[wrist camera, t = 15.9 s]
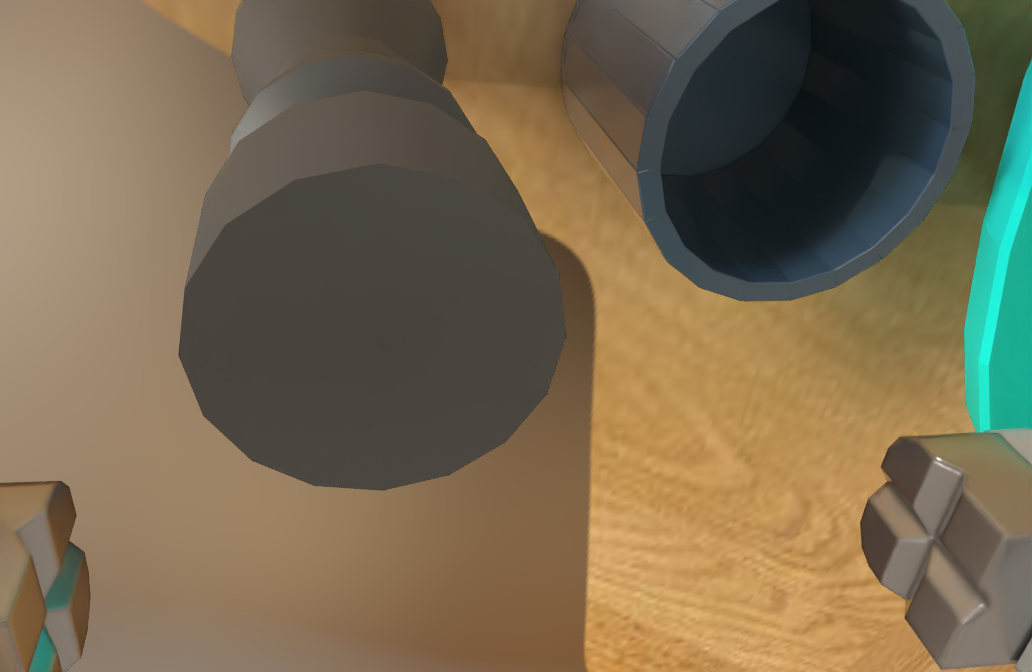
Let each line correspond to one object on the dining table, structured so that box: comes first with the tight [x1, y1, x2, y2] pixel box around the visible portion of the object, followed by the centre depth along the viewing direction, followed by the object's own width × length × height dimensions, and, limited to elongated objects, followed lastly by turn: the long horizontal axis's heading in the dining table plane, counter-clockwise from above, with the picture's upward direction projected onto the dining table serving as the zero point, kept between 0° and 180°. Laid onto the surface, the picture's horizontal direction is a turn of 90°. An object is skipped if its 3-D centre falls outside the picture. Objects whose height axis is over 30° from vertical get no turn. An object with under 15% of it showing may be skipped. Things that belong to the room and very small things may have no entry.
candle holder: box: [179, 0, 566, 490], centre depth 24 cm, size 6×6×25 cm
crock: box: [561, 0, 976, 301], centre depth 34 cm, size 12×12×11 cm
